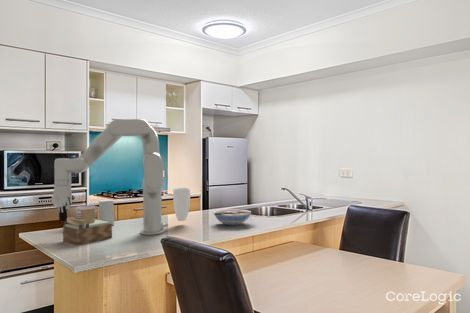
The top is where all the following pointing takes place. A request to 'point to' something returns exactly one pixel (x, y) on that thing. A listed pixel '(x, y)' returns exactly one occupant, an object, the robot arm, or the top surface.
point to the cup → (181, 202)
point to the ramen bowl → (232, 216)
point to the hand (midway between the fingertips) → (63, 220)
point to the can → (78, 210)
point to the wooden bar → (76, 221)
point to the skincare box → (106, 210)
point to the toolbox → (86, 234)
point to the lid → (88, 219)
